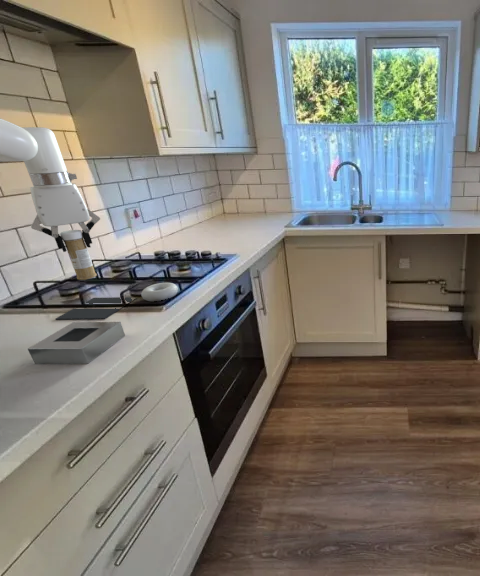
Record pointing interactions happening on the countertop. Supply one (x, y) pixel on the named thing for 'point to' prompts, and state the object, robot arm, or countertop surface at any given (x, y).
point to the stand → (77, 343)
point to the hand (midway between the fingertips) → (76, 248)
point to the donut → (159, 292)
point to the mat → (93, 310)
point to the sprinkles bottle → (78, 254)
